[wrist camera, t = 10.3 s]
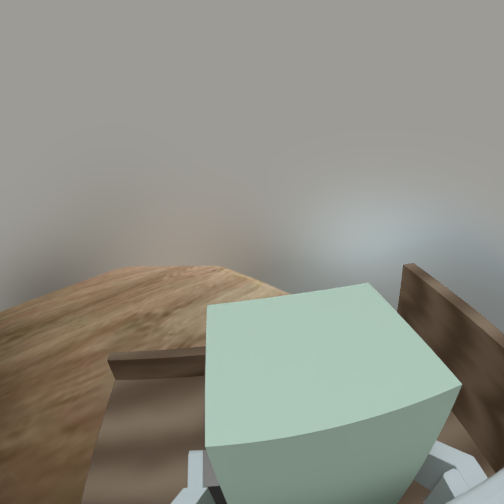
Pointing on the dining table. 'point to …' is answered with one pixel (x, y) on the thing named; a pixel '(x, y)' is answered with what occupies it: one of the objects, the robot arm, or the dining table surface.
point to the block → (320, 398)
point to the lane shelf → (193, 402)
